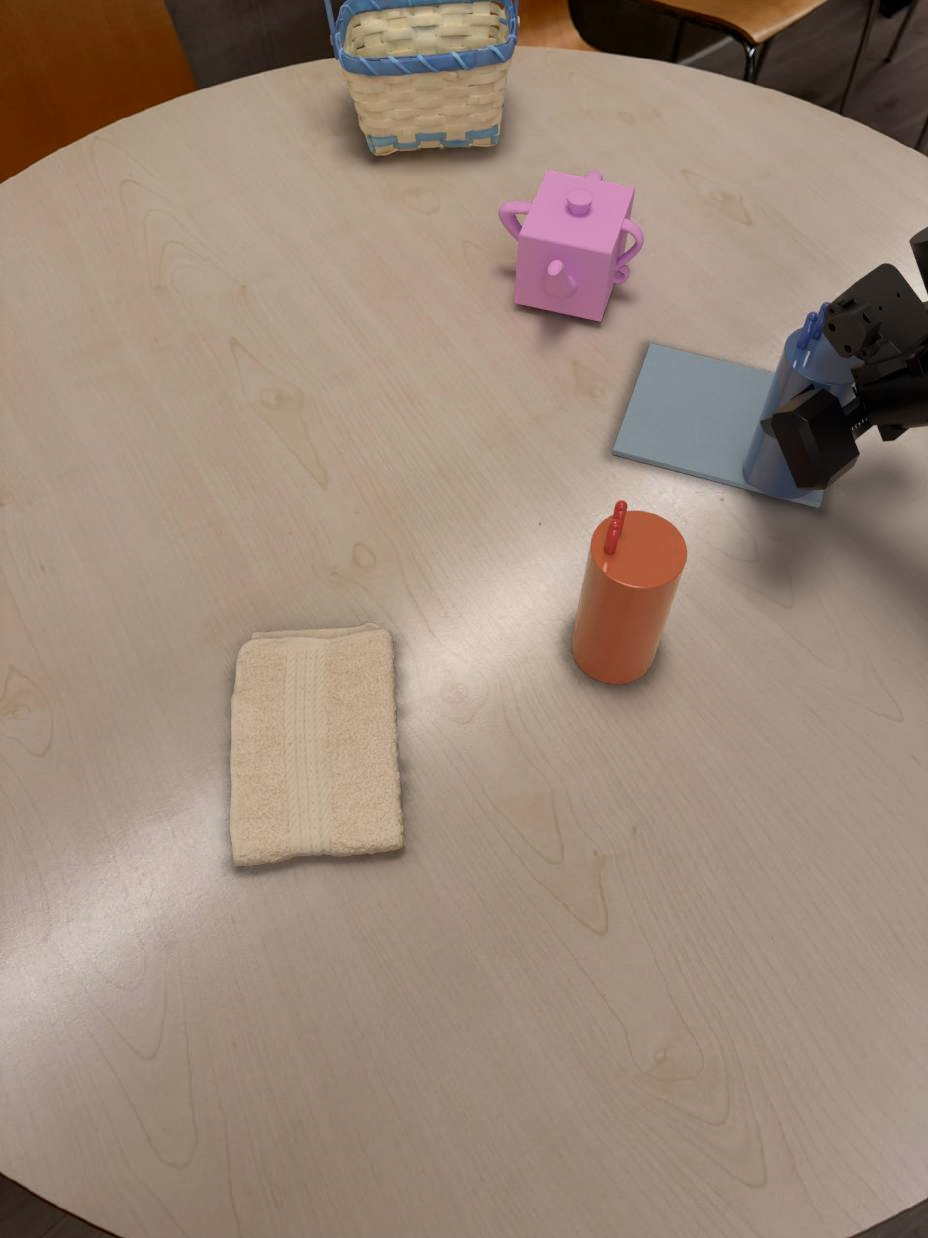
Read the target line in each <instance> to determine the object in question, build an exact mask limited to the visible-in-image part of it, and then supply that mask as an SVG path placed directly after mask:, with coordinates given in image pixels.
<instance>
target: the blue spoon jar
mask: <svg viewBox="0 0 928 1238" xmlns="http://www.w3.org/2000/svg"><path fill="white" fill-rule="evenodd" d="M830 303H831V302H830V301H823V303H822V304H821V305H820V307H819V310H818V313H817V312H816V311H809V312H808V313H807V315H806V317H805V320H804V323H803V326H802V327H799V328H798V329H796V330H794V331H793V332H792V333H791V334H790V335H789V336H788V337H787V338H786V340H785V342H784V345H783V348H782V351H781V353H780V357H779V360H778V362H777V365H776V367H775V372H774V373H775V374H774V377H773V379H772V382H771V385H770V388H769V391H768V394H767V397H766V400H765V402H764V405H763V408H762V411H761V414H760V417H759V420H758V423H757V425H756V428H755V431H754V434H753V437H752V440H751V443H750V446H749V448H748V451H747V454H746V457H745V460H744V471H745V474H746V477H747V478H748V480H749V481H750V483H751V484H752V485H753V486H754V487H755V488H757V489H758V490H759V491H761V492H763V493H764V494H763V495H766V496H769V497H771V498H774V499H780V500H785V499H797V498H801V497H804V496H806V495H808V494H810V493H811V492H812V491H804V490H801V489H798V488H797V487H796V485H795V482H794V480H793V477H792V475H791V473H790V470H789V468H788V465H787V463H786V460H785V458H784V456H783V453H782V451H781V448H780V446H779V444H778V441H777V440H776V439H774V438H773V437H771V436H769V435H767V434H765V433H764V431H763V429H762V427H761V424H760V421H761V420H762V419H763V418H766V417H768V416H771V415H773V413H775V412H776V411H777V410H779V409H780V408H781V407H783V406H784V405H785V404H787V403H788V402H789V401H790V400H791V399H792V398H793V397H794V396H796V395H797V394H798V393H800V392H801V391H802V390H804V389H805V388H806V387H808V386H809V385H811V384H812V383H813V385H814V388H815V389H819V388H824V389H826V390H827V391H829V392H830V393H832V394H833V395H835V396H836V397H837V398H838V399H839V401H840V404H841V406H842V407H844V406H845V405H846V404H848V403H849V402H850V401H852V400H853V399H854V398H855V397H856V396H855V395H854V393H853V390H852V387H851V386H852V384H853V383H854V382H855V381H854V378H853V376H852V373H851V371H850V368H852V367H853V366H854V365H856V364H857V363H861V362H864V361H863V360H860V359H858V358H857V357H856V356H855V355H853V356H852V357H850V358H848V359H847V358H843V357H841V356H840V355H839V354H838V353H837V352H836V350H835V349H834V348H833V346H832V345H831V344H830V342H829V341H828V340H827V338H826V337H825V336H824V334H823V324H824V323H825V322H826V320H825V317H824V310H825V308H826V306H828V305H829V304H830Z"/></svg>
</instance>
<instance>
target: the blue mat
mask: <svg viewBox="0 0 928 1238" xmlns="http://www.w3.org/2000/svg"><path fill="white" fill-rule="evenodd" d="M774 374H775V372H771V371H767V370H763V369H759V368H756V367H755V368H754V367H752V366H751V367H750V366H747V365H743V364H740V363H739V364H738V363H735V362H730V361H726V360H722V359H718V358H713V357H709V356H705V355H701V354H697V353H692V352H689V351H688V352H687V351H685V350H680V349H675V348H671V347H667V346H665V345H664V346H663V345H660V344H655V343H649V346H648V348H647V351H646V354H645V357H644V360H643V362H642V366H641V368H640V371H639V374H638V377H637V379H636V382H635V385H634V387H633V388H634V389H633V391H632V394H631V397H630V401H629V403H628V404H627V405H628V406H627V408H626V411H625V414H624V417H623V420H622V423H621V426H620V428H619V432H618V434H617V437H616V439H615V443H614V446H613V448H612V451H611V455H613V456H617V457H621V458H625V459H628V460H632V461H637V462H641V463H645V464H648V465H652V466H655V467H659V468H663V469H667V470H671V471H675V472H679V473H682V474H686V475H690V476H694V477H698V478H701V479H705V480H709V481H713V482H717V483H719V484H720V483H721V484H725V485H728V486H732V487H735V488H740V489H743V490H747V491H751V492H756V493H759V494H762V495H765V494H764V493H763V492H761V491H759V490H758V489H757V488H755V487H754V486H753V485H752V484H751V483H750V481H749V480H748V478H747V477H746V474H745V471H744V460H745V457H746V454H747V451H748V448H749V446H750V443H751V440H752V437H753V434H754V431H755V428H756V425H757V423H758V420H759V417H760V414H761V411H762V408H763V405H764V402H765V400H766V397H767V394H768V391H769V388H770V385H771V382H772V379H773V377H774ZM824 491H825V490H813V491H812V492H811V493H810V494H808V495H806V496H804V497H801V498H797V499H784V500H785V501H790V502H793V503H797V504H801V505H804V506H809V507H813V508H816V509H820V508H821V505H822V502H823V496H824V493H825V492H824Z"/></svg>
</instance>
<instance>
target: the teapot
mask: <svg viewBox="0 0 928 1238" xmlns="http://www.w3.org/2000/svg"><path fill="white" fill-rule="evenodd" d="M635 193H636V186H632V185H627V184H622V183H617V182H611V181H606V180H604V175H603V173H602V172H601V171H599V170H597V169H595V170H594V169H593V170H590V171H589V172H588V173H587V174H586V176H581V175H575V174H570V173H565V172H560V171H555V170H551V169H547V170H546V172H545V174H544V177H543V178H542V181H541V183H540V186H539V187H538V190H537V192H536V193H535V197H534V199H533V201H532V202H529V201H521V200H513V201H507V202H506V201H505V202H504V203H502V204H501V205H500V206H499V208H498V211H497V212H498V213H497V214H498V218H499V220H500V222H501V224H502V225H503V227H504V228H505V229H506V231H507V232H508V233H509V234H510V235H511V236H512V237H513V238H514V239H515V240H516V241H517V252H516V268H515V283H514V284H515V285H514V296H513V297H514V298H513V303H514V304H517V305H522V306H527V307H531V308H535V309H540V310H546V311H550V312H554V313H558V314H563V315H568V316H571V317H577V318H582V319H585V320H586V319H587V320H590V321H595V322H599V323H601V322H602V320H603V317H604V315H605V311H606V308H607V306H608V303H609V300H610V297H611V295H612V291H613V288H614V285H615V284H619V285H621V284H624V283H626V282H627V281H628V280H629V279H630V276H631V269H630V266H628V265H626V264H628V263H629V262H631V261H632V260H633V259H634V258H635V257H636V256H637V255H638V254H639V253H640V252H641V250H642V248H643V246H644V243H645V236H644V232H643V230H642V228H641V227H640V225H639V224H638V223H637V222H635V221H633V220H632V219H631V217H632V211H633V210H632V209H633V204H634V200H635V199H634V198H635ZM517 215H526V217H525V220H524V222H523V224H521V223H520V221H519V219H518V217H517ZM628 234H629V235H630V236H632V238H633V239H634V241H635V242H634V244H633V245H632V246H631V247H630V248H629V249H628V250H626V245H627V240H628Z"/></svg>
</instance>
